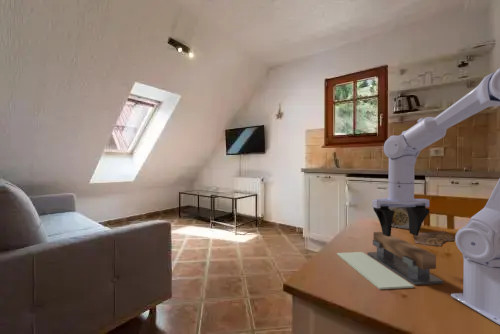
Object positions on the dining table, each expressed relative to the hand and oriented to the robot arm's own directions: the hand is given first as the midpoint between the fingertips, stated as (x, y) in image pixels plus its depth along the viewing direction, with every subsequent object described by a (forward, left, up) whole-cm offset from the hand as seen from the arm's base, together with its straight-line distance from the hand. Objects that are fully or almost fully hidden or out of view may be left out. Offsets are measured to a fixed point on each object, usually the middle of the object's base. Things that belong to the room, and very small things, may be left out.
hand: (400, 234), depth 63 cm
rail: (0, 0, -5) cm, 5 cm away
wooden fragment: (+22, -30, -9) cm, 38 cm away
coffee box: (+37, -29, -9) cm, 48 cm away
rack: (0, 0, -8) cm, 8 cm away
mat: (0, +8, -8) cm, 12 cm away
